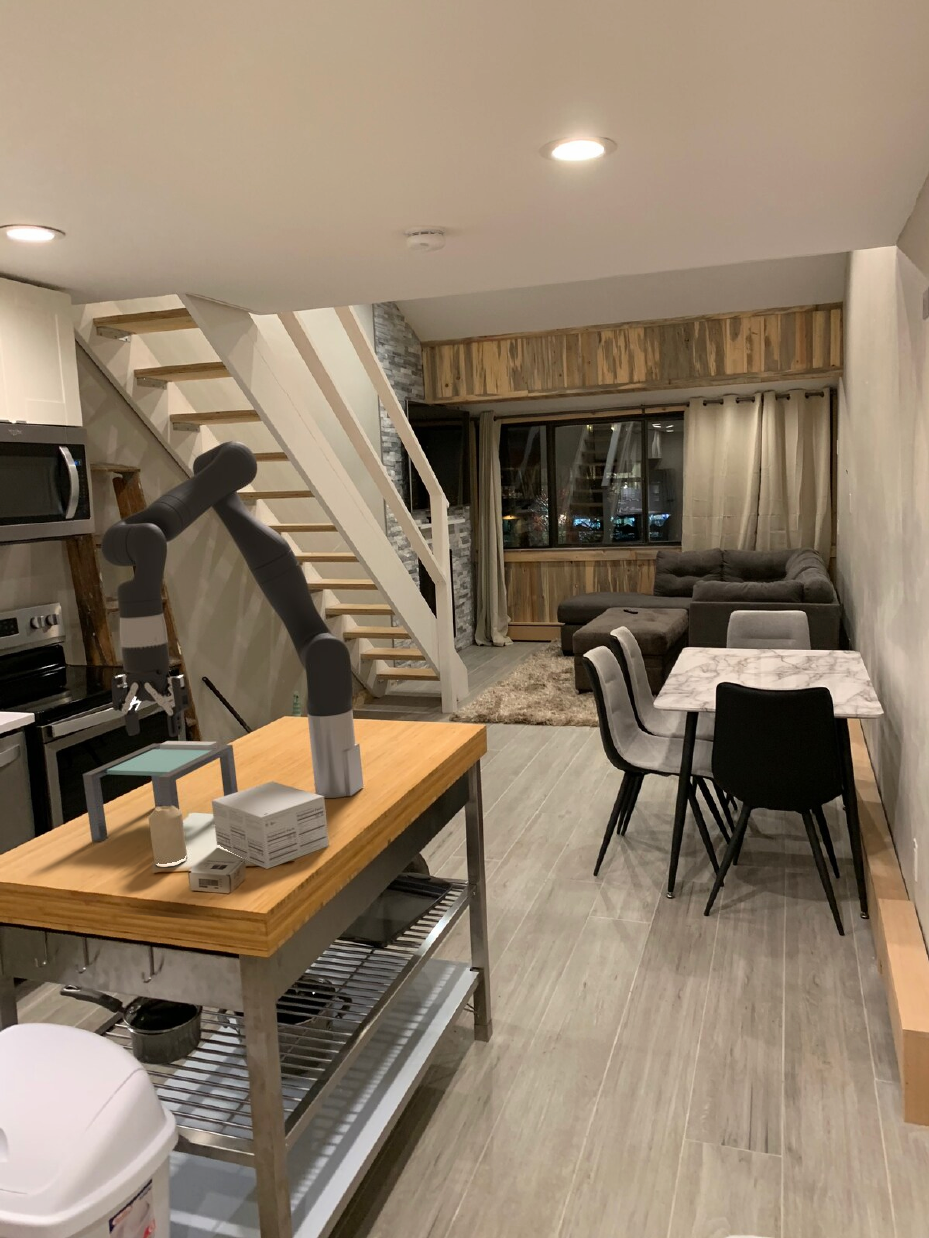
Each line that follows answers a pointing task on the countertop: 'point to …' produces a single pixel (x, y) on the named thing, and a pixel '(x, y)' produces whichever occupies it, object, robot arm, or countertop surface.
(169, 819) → the candle
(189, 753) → the trapdoor
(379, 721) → the countertop surface
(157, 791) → the frame
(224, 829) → the supplement box
